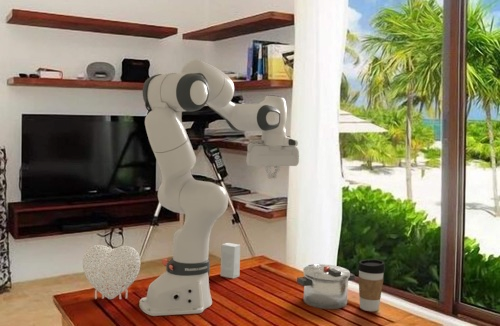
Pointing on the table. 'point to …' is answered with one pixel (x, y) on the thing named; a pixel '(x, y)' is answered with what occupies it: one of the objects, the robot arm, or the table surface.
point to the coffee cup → (370, 283)
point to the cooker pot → (325, 292)
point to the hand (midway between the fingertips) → (272, 178)
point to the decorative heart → (111, 269)
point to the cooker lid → (326, 272)
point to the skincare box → (230, 260)
